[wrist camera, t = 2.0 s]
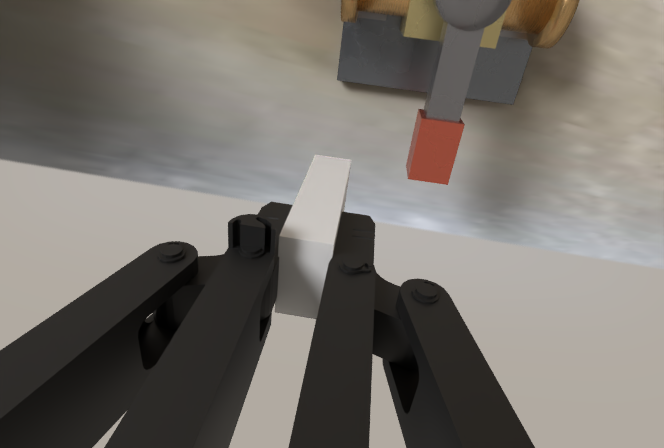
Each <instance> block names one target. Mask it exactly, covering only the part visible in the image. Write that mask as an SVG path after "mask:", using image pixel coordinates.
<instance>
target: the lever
mask: <svg viewBox="0 0 664 448" xmlns="http://www.w3.org/2000/svg"><path fill="white" fill-rule="evenodd" d="M511 1H512V0H433V3H434V6H435V9H436V11H437V13H438V15H439V16H440V18H441V19H442V20H443V21H444V22H443V26H442V31H441V35H440V40H439V44H438V49H437V53H436V57H435V62H434V66H433V71H432V75H431V80H430V84H429V89H428V93H427V97H426V102H425V106H424V110H422V109H418V114H417V118H416V123H415V128H414V132H413V137H412V141H411V146H410V150H409V155H408V160H407V164H406V168H407V175H408V179H412V180H419V181H425V182H432V183H439V184H446V185H448V182H449V178H450V175H451V171H452V168H453V164H454V161H455V157H456V153H457V150H458V146H459V143H460V139H461V136H462V132H463V128H464V125H465V124H464V123H463V121H462V120H461V118H460V116H461V113H462V109H463V105H464V102H465V98H466V94H467V91H468V87H469V83H470V80H471V76H472V72H473V69H474V65H475V61H476V58H477V54H478V50H479V47H480V43H481V39H482V36H483V32H484V28H485V27H487V26H489V25H491V24H493V23H494V22H495V21H497V20H498V19H499V18H500V17H501V16H502V15H503V14H504V12H505V11H506V10H507V8H508V7H509V5H510V3H511Z"/></svg>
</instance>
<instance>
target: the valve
mask: <svg viewBox="0 0 664 448" xmlns="http://www.w3.org/2000/svg"><path fill="white" fill-rule="evenodd" d="M578 3H579V0H512V1H511V3H510V5H509V7H508V8H507V10H506V11H505V12H504V14H503V15H502V16H501V17H500V18H499V19H498V20H497V21H495V22H494V23H493V24H491V25H489V26H487V27H485V28H484V32H483V36H482V39H481V43H480V47H479V50H478V54H477V58H476V61H475V65H474V69H473V72H472V76H471V80H470V83H469V87H468V91H467V94H466V98H469V99H477V100H484V101H491V102H498V103H505V104H514V101H515V98H516V95H517V92H518V89H519V86H520V83H521V80H522V76H523V73H524V70H525V67H526V64H527V61H528V58H529V55H530V52H531V49H532V47H539V48H550V47H552V46H554V45H555V44H556V43H557V42H558V41H559V39H560V38H561V37H562V35H563V34H564V32H565V31H566V29H567V28H568V26H569V24H570V22H571V20H572V18H573V16H574V13H575V11H576V9H577V6H578ZM341 21H344V24H343V33H342V41H341V50H340V59H339V68H338V76H337V80H340V81H347V82H354V83H361V84H369V85H376V86H383V87H390V88H397V89H405V90H412V91H419V92H426V93H428V89H429V84H430V80H431V75H432V71H433V66H434V62H435V57H436V53H437V49H438V44H439V40H440V35H441V31H442V26H443V22H444V21H443V20H442V19H441V18H440V16H439V15H438V13H437V11H436V9H435V6H434V3H433V0H341Z"/></svg>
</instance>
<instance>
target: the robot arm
mask: <svg viewBox="0 0 664 448" xmlns="http://www.w3.org/2000/svg"><path fill="white" fill-rule="evenodd" d="M350 166H351V160H349V159H342V158H335V157H329V156H322V155H315V156H314V159H313V161H312V163H311V165H310V168H309V170H308V172H307V174H306V177H305V179H304V181H303V183H302V186H301V188H300V190H299V192H298V195H297V197H296V199H295V201H294V204H293V205H289V204H282V203H276V202H270V203H269V204H267V205H265V206H264V207H262V208H261V210H260V212H259V213H258V215H255V214H247V215H240V216H237V217H235V218H233V219H231V220H230V221H229V222H228V244H229V248H228V249H227V251H226V252H225V254H223V255H217V256H199V257H198V252H197V250H196V248H195V247H194V246H192V245H190V244H188V243H184V242H177V241H175V242H173V241H172V242H166V243H162V244H159V245H157V246H154V247H152V248H151V249H149V250H148V251H146V252H145V253H143V254H142V255H140V256H139V257H138V258H136V259H135V260H133V261H132V262H130V263H129V264H127V265H126V266H124V267H123V268H121V269H120V270H118V271H117V272H115V273H114V274H112V275H111V276H109V277H108V278H107V279H105V280H104V281H102V282H101V283H99V284H98V285H96V286H95V287H93V288H92V289H90V290H89V291H87V292H86V293H84V294H83V295H81V296H80V297H79V298H77V299H76V300H74V301H73V302H71V303H70V304H68V305H67V306H65V307H64V308H62V309H61V310H59V311H58V312H56V313H55V314H53V315H52V316H51V317H49V318H48V319H46V320H45V321H43V322H42V323H40V324H39V325H37V326H36V327H34V328H33V329H31V330H30V331H28V332H27V333H25V334H24V335H22V336H21V337H20V338H18V339H17V340H15V341H14V342H12V343H11V344H9V345H8V346H6V347H5V348H3V349H2V350H0V448H92V447H93V446H94V445H95V444H96V443H97V442H98V441H99V440H100V439H101V438H102V437H103V436H104V434H105V433H106V432H107V431H108V430H109V429H110V428H111V427H112V426H113V425H114V424H115V423H116V422H117V421H118V420H119V418H120V417H121V416H122V415H123V414H124V413H125V412H126V411H127V412H126V414H125V415H124V417H123V418H122V420H121V422H120V423H119V425H118V427H117V428H116V430H115V431H114V433H113V435H112V436H111V438H110V439H109V441H108V443H107V444H106V446H105V447H104V448H228V447H229V445H230V442H231V439H232V436H233V433H234V430H235V427H236V424H237V421H238V418H239V416H240V413H241V410H242V407H243V404H244V401H245V398H246V395H247V392H248V390H249V387H250V384H251V381H252V378H253V375H254V372H255V369H256V366H257V363H258V361H259V357H260V355H261V352H262V349H263V346H264V343H265V340H266V337H267V334H268V331H269V329H270V325H271V314H272V313H271V312H272V308H273V306H274V304H275V312H277V313H283V314H289V315H295V316H301V317H307V318H314V319H316V324H315V328H314V333H313V338H312V342H311V347H310V351H309V356H308V361H307V366H306V370H305V374H304V379H303V384H302V389H301V393H300V398H299V403H298V407H297V411H296V416H295V421H294V426H293V430H292V435H291V439H290V444H289V448H369V428H370V404H371V377H372V354H374V355H376V356H379V357H381V358H383V366H384V370H385V374H386V377H387V381H388V385H389V388H390V392H391V395H392V399H393V402H394V406H395V409H396V413H397V416H398V420H399V423H400V427H401V430H402V434H403V437H404V441H405V444H406V448H535V447H534V445H533V444H532V442H531V440H530V438H529V436H528V435H527V433H526V431H525V429H524V427H523V426H522V424H521V422H520V420H519V418H518V417H517V415H516V413H515V411H514V410H513V408H512V406H511V404H510V402H509V401H508V399H507V397H506V395H505V394H504V392H503V390H502V388H501V386H500V385H499V383H498V381H497V379H496V377H495V376H494V374H493V372H492V370H491V369H490V367H489V365H488V363H487V362H486V360H485V358H484V356H483V354H482V353H481V351H480V349H479V347H478V346H477V344H476V342H475V340H474V338H473V337H472V335H471V333H470V331H469V329H468V328H467V326H466V324H465V322H464V321H463V319H462V317H461V315H460V313H459V312H458V310H457V308H456V307H455V305H454V303H453V301H452V299H451V297H450V296H449V294H448V293H447V292H446V291H445V289H444V288H442V287H441V286H439V285H438V284H436V283H434V282H431V281H428V280H424V279H411V280H407V281H406V282H404V283H403V284H402V285H401V287H400V286H397V285H394V284H392V283H390V282H388V281H386V280H384V279H383V278H381V277H380V276H379V275H378V274H377V273H376V270H375V267H374V265H373V263H374V239H375V223H374V222H373V220H372V219H371V217H370V216H367V215H360V214H354V213H347V212H344V207H345V200H346V194H347V187H348V180H349V173H350ZM151 313H153V314H152V315H150V314H151ZM149 315H150V316H149ZM148 316H149V317H148ZM147 317H148V318H147ZM146 318H147V319H146Z"/></svg>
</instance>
